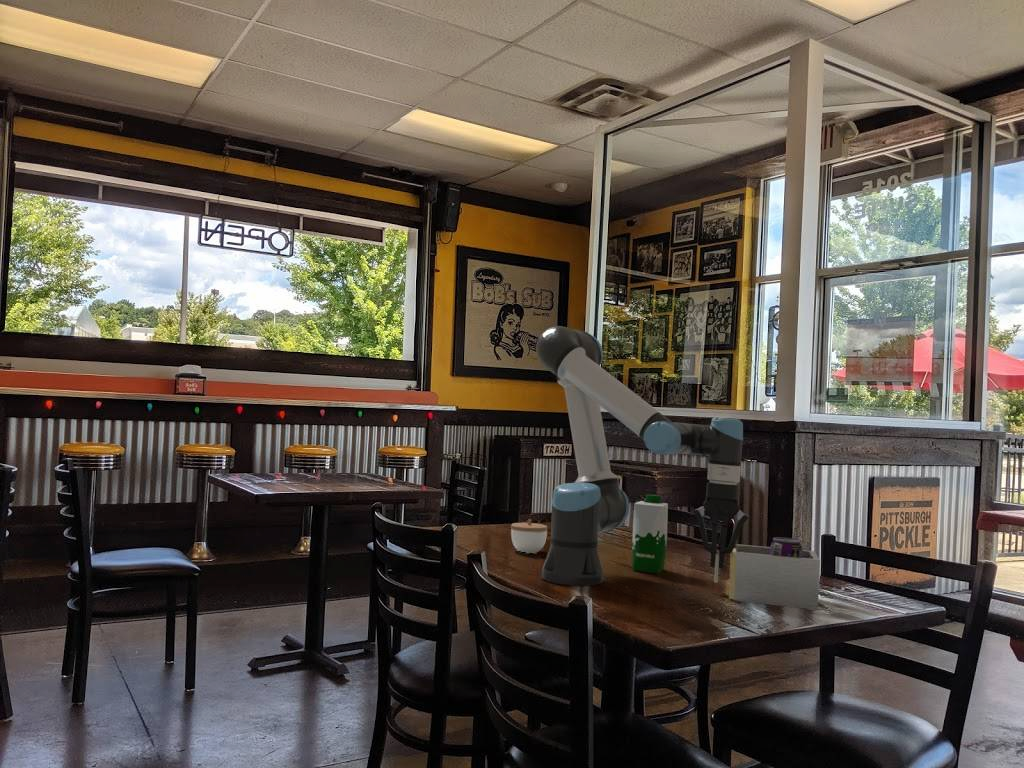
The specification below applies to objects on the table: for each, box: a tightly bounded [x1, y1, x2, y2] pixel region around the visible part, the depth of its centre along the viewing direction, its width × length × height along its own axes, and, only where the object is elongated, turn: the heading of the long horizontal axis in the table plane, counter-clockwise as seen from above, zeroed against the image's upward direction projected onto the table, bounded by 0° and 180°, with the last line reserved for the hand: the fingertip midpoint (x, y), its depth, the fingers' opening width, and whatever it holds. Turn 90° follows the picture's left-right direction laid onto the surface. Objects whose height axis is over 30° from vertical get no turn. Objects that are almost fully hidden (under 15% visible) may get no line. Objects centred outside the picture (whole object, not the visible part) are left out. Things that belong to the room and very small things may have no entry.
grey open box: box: [733, 543, 821, 611], centre depth 190 cm, size 18×14×11 cm
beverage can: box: [770, 537, 804, 558], centre depth 189 cm, size 7×7×12 cm
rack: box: [728, 548, 736, 600], centre depth 190 cm, size 18×14×10 cm
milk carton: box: [631, 493, 669, 574], centre depth 218 cm, size 9×9×20 cm
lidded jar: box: [510, 518, 548, 554], centre depth 238 cm, size 11×11×9 cm
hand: (715, 581), depth 193 cm, fingers closed
